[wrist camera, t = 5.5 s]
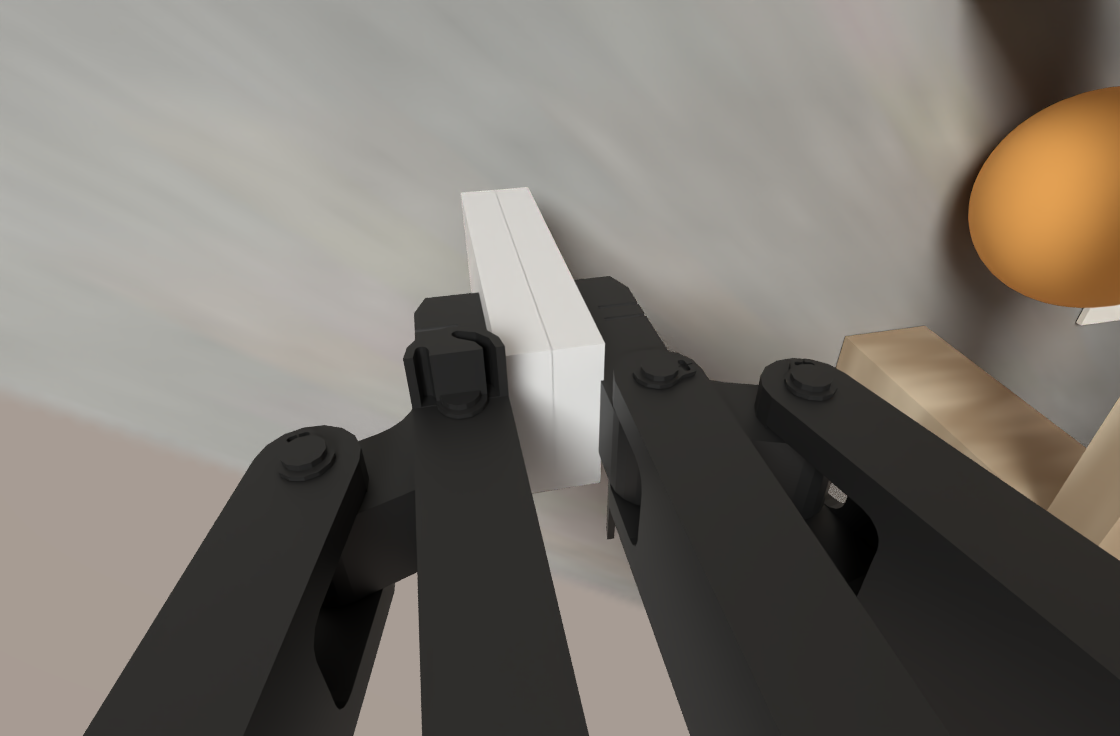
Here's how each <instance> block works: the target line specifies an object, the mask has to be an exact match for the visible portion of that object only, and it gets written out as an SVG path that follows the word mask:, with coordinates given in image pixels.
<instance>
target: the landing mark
mask: <svg viewBox="0 0 1120 736" xmlns="http://www.w3.org/2000/svg"><path fill="white" fill-rule="evenodd" d="M1116 320H1120V305H1116V306H1107V307H1096V308H1084V309H1083V311H1082V313H1081V314H1080V316H1079V318H1078V320H1077V322H1076V323H1078V324H1079V325H1087V324H1095V323H1102V322H1109V321H1116Z"/></svg>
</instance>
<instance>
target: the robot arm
mask: <svg viewBox="0 0 1120 736" xmlns="http://www.w3.org/2000/svg"><path fill="white" fill-rule="evenodd" d="M461 200H462V210H463V219H464V228H465V238H466V247H467V256H468V266H469V275H470V284H471V293H469V294H460V295H450V296H441V297H432V298H425V299H424V301H423V302H422V303H421V305H420V306H419V307H418V309H417V310H416V312H415V313H414V322H415V341H414V342H413V343H412V344H410V345H409V346H408V347H407V349H406V352H405V355H404V358H403V361H404V366H405V371H406V377H407V382H408V387H409V392H410V398H411V403H412V410H411V412H410V413H409V414H408V415H407V416H406V417H405V418H404V419H403V420H402V421H401V422H399V423H398V424H396V425H395V426H393V427H392V428H390V429H388V430H386V431H383V432H381V433H379V434H377V435H374V436H371V437H369V438H366V439H363V440H360V441H358V440H357V439H356V437H355V435H353V434H352V433H350V432H348V431H346V430H345V429H343V428H339V427H332V426H326V425H322V426H314V427H305V428H301V429H299V430H296V431H293V432H290V433H287V434H284V435H282V436H281V437H279V438H278V439H276V440H274V441H273V442H271V443H270V444H268V445H267V446H266V447H265V448H264V449H263V450H262V451H261V452H260V453H259V454H258V455H257V456H256V458H255V459H254V460H253V462H252V463H251V465H250V466H249V468H248V470H247V471H246V473H245V475H244V476H243V478H242V479H241V481H240V483H239V484H238V486H237V488H236V489H235V491H234V492H233V494H232V496H231V497H230V499H229V500H228V502H227V504H226V505H225V507H224V508H223V510H222V512H221V513H220V515H219V517H218V518H217V520H216V521H215V523H214V525H213V527H212V528H211V529H210V531H209V533H208V534H207V536H206V538H205V539H204V541H203V542H202V544H201V546H200V547H199V549H198V551H197V552H196V554H195V555H194V557H193V559H192V560H191V562H190V563H189V565H188V567H187V568H186V570H185V572H184V573H183V575H182V576H181V578H180V580H179V581H178V583H177V584H176V586H175V588H174V589H173V591H172V592H171V594H170V596H169V597H168V599H167V601H166V602H165V604H164V605H163V607H162V609H161V610H160V612H159V613H158V615H157V617H156V618H155V620H154V622H153V623H152V625H151V626H150V628H149V630H148V631H147V633H146V635H145V636H144V638H143V639H142V641H141V643H140V644H139V646H138V648H137V649H136V651H135V652H134V654H133V656H132V657H131V659H130V661H129V662H128V664H127V665H126V667H125V669H124V670H123V672H122V673H121V675H120V677H119V678H118V680H117V681H116V683H115V685H114V686H113V688H112V689H111V691H110V693H109V694H108V696H107V698H106V699H105V701H104V702H103V704H102V706H101V707H100V709H99V711H98V712H97V714H96V715H95V717H94V718H93V720H92V722H91V723H90V725H89V727H88V728H87V730H86V731H85V733H84V735H83V736H353V735H354V731H355V727H356V724H357V721H358V717H359V713H360V710H361V707H362V703H363V700H364V696H365V693H366V689H367V685H368V682H369V679H370V675H371V672H372V668H373V665H374V661H375V658H376V654H377V650H378V647H379V643H380V640H381V636H382V633H383V629H384V626H385V622H386V619H387V615H388V612H389V608H390V605H391V601H392V598H393V594H394V588H395V582H397V581H400V580H401V579H404V578H406V577H408V576H410V575H412V574H414V573H416V572H417V574H418V606H419V607H418V608H419V642H420V672H421V673H420V674H421V675H420V677H421V708H422V709H421V711H422V736H589V734H588V729H587V726H586V721H585V717H584V713H583V708H582V704H581V700H580V695H579V691H578V687H577V683H576V679H575V674H574V670H573V666H572V662H571V657H570V653H569V649H568V645H567V641H566V636H565V632H564V628H563V624H562V619H561V615H560V611H559V607H558V602H557V598H556V594H555V589H554V585H553V581H552V577H551V573H550V568H549V564H548V560H547V556H546V551H545V547H544V543H543V539H542V534H541V530H540V526H539V522H538V517H537V513H536V509H535V505H534V500H533V496H532V494H533V493H539V492H545V491H551V490H558V489H564V488H570V487H576V486H582V485H588V484H594V483H600V473H601V460H602V463H603V466H604V468H605V471H606V474H607V476H608V479H609V482H608V504H607V526H606V529H607V539H613V538H614V531H615V526H616V528H617V531H618V534H619V537H620V540H621V542H622V545H623V548H624V551H625V554H626V556H627V559H628V562H629V565H630V568H631V570H632V573H633V576H634V579H635V582H636V584H637V587H638V590H639V593H640V596H641V599H642V601H643V604H644V607H645V610H646V613H647V615H648V618H649V621H650V624H651V627H652V629H653V632H654V635H655V638H656V641H657V643H658V646H659V649H660V652H661V654H662V657H663V660H664V663H665V666H666V669H667V671H668V674H669V677H670V680H671V682H672V686H673V688H674V691H675V694H676V697H677V700H678V702H679V705H680V708H681V711H682V714H683V716H684V719H685V722H686V725H687V727H688V730H689V733H690V736H1120V560H1118V559H1117V558H1115V557H1114V556H1112V555H1111V554H1109V553H1108V552H1106V551H1105V550H1104V549H1102V548H1101V547H1099V546H1098V545H1096V544H1095V543H1093V542H1092V541H1090V540H1089V539H1087V538H1086V537H1084V536H1083V535H1082V534H1080V533H1079V532H1077V531H1076V530H1074V529H1073V528H1071V527H1070V526H1068V525H1067V524H1065V523H1064V522H1063V521H1061V520H1060V519H1058V518H1057V517H1055V516H1054V515H1052V514H1051V513H1049V512H1048V511H1046V510H1045V509H1043V508H1042V507H1041V506H1039V505H1038V504H1036V503H1035V502H1033V501H1032V500H1030V499H1029V498H1027V497H1026V496H1024V495H1023V494H1021V493H1020V492H1019V491H1017V490H1016V489H1014V488H1013V487H1011V486H1010V485H1008V484H1007V483H1005V482H1004V481H1002V480H1001V479H1000V478H998V477H997V476H995V475H994V474H992V473H991V472H989V471H988V470H986V469H985V468H983V467H982V466H980V465H979V464H978V463H976V462H975V461H973V460H972V459H970V458H969V457H967V456H966V455H964V454H963V453H961V452H960V451H959V450H957V449H956V448H954V447H953V446H951V445H950V444H948V443H947V442H945V441H944V440H942V439H941V438H939V437H938V436H937V435H935V434H934V433H932V432H931V431H929V430H928V429H926V428H925V427H923V426H922V425H920V424H919V423H918V422H916V421H915V420H913V419H912V418H910V417H909V416H907V415H906V414H904V413H903V412H901V411H900V410H898V409H897V408H896V407H894V406H893V405H891V404H890V403H888V402H887V401H885V400H884V399H882V398H881V397H879V396H878V395H876V394H875V393H874V392H872V391H871V390H869V389H868V388H866V387H865V386H863V385H862V384H860V383H859V382H857V381H856V380H855V379H853V378H852V377H850V376H849V375H847V374H846V373H844V372H842V371H840V370H838V369H837V368H835V367H833V366H831V365H829V364H825V363H822V362H818V361H815V360H811V359H797V358H791V359H785V360H779V361H776V362H774V363H772V364H770V365H768V366H766V367H765V369H764V371H763V373H762V374H761V377H760V382H759V385H750V384H736V383H724V382H718V381H711V380H709V379H708V377H707V376H706V374H705V373H704V371H703V370H702V369H701V368H700V367H699V366H698V365H697V364H696V363H695V362H694V361H693V360H692V359H689V358H687V357H685V356H683V355H681V354H679V353H675V352H670V351H668V350H667V348H666V347H665V345H664V344H663V342H662V341H661V339H660V337H659V336H658V334H657V333H656V331H655V329H654V328H653V326H652V325H651V323H650V322H649V320H648V318H647V317H646V316H644V312H643V310H642V309H641V307H640V306H639V304H637V301H636V299H635V298H634V296H633V295H632V293H631V292H630V290H629V288H628V287H626V286H625V285H623V284H622V283H620V282H618V281H617V280H615V279H613V278H612V277H610V276H607V277H598V278H589V279H580V280H573V277H572V275H571V273H570V271H569V269H568V267H567V265H566V263H565V261H564V259H563V257H562V255H561V253H560V251H559V249H558V247H557V245H556V243H555V241H554V239H553V237H552V235H551V233H550V231H549V229H548V227H547V225H546V223H545V221H544V219H543V217H542V215H541V212H540V210H539V208H538V206H537V204H536V202H535V200H534V198H533V196H532V194H531V192H530V190H529V188H528V187H523V188H511V189H499V190H487V191H475V192H463V193H461ZM831 482H832V483H833V484H834V485H835V486H837V487H838V488H839V489H840V490H841V491H842V492H844V493H845V494H846V495H847V499H846V502H845V503H840V502H839V501H837V500H836V499H834V498H833V497H832V496H831V495H829V494H828V490H829V487H830V484H831Z"/></svg>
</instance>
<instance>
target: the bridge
mask: <svg viewBox="0 0 1120 736" xmlns="http://www.w3.org/2000/svg"><path fill="white" fill-rule="evenodd" d="M836 368H837V369H838V370H840V371H842V372H844V373H846V374H847V375H849V376H850V377H852V378H853V379H855V380H856V381H857V382H859V383H860V384H862V385H863V386H865V387H866V388H868V389H869V390H871V391H872V392H874V393H875V394H876V395H878V396H879V397H881V398H882V399H884V400H885V401H887V402H888V403H890V404H891V405H893V406H894V407H896V408H897V409H898V410H900V411H901V412H903V413H904V414H906V415H907V416H909V417H910V418H912V419H913V420H915V421H916V422H918V423H919V424H920V425H922V426H923V427H925V428H926V429H928V430H929V431H931V432H932V433H934V434H935V435H937V436H938V437H939V438H941V439H942V440H944V441H945V442H947V443H948V444H950V445H951V446H953V447H954V448H956V449H957V450H959V451H960V452H961V453H963V454H964V455H966V456H967V457H969V458H970V459H972V460H973V461H975V462H976V463H978V464H979V465H980V466H982V467H983V468H985V469H986V470H988V471H989V472H991V473H992V474H994V475H995V476H997V477H998V478H1000V479H1001V480H1002V481H1004V482H1005V483H1007V484H1008V485H1010V486H1011V487H1013V488H1014V489H1016V490H1017V491H1019V492H1020V493H1021V494H1023V495H1024V496H1026V497H1027V498H1029V499H1030V500H1032V501H1033V502H1035V503H1036V504H1038V505H1039V506H1041V507H1042V508H1043V509H1045V510H1046V511H1048V512H1049V513H1051V514H1052V515H1054V516H1055V517H1057V518H1058V519H1060V520H1061V521H1063V522H1064V523H1065V524H1067V525H1068V526H1070V527H1071V528H1073V529H1074V530H1076V531H1077V532H1079V533H1080V534H1082V535H1083V536H1084V537H1086V538H1087V539H1089V540H1090V541H1092V542H1093V543H1095V544H1096V545H1098V546H1099V547H1101V548H1102V549H1104V550H1105V551H1106V552H1108V553H1109V554H1111V555H1112V556H1114V557H1115V558H1117V559H1118V560H1120V397H1119V399H1118V400H1117V402H1116V403H1115V405H1114V406H1113V408H1112V410H1111V411H1110V413H1109V414H1108V416H1107V417H1106V419H1105V421H1104V422H1103V424H1102V425H1101V427H1100V428H1099V430H1098V431H1097V433H1096V435H1095V436H1094V438H1093V439H1092V441H1091V442H1090V444H1089V446H1088V447H1087V448H1085V447H1084V446H1083V445H1081V444H1080V443H1079V442H1078V441H1076V440H1075V439H1074V438H1072V437H1071V436H1070V435H1068V434H1067V433H1066V432H1064V431H1063V430H1062V429H1060V428H1059V427H1058V426H1056V425H1055V424H1054V423H1052V422H1051V421H1050V420H1048V419H1047V418H1046V417H1045V416H1043V415H1042V414H1041V413H1039V412H1038V411H1037V410H1035V409H1034V408H1033V407H1031V406H1030V405H1029V404H1027V403H1026V402H1025V401H1023V400H1022V399H1021V398H1019V397H1018V396H1017V395H1015V394H1014V393H1013V392H1012V391H1010V390H1009V389H1008V388H1006V387H1005V386H1004V385H1002V384H1001V383H1000V382H998V381H997V380H996V379H994V378H993V377H992V376H990V375H989V374H988V373H986V372H985V371H984V370H982V369H981V368H980V367H979V366H977V365H976V364H975V363H973V362H972V361H971V360H969V359H968V358H967V357H965V356H964V355H963V354H961V353H960V352H959V351H957V350H956V349H955V348H953V347H952V346H951V345H949V344H948V343H947V342H946V341H944V340H943V339H942V338H940V337H939V336H938V335H936V334H935V333H934V332H932V331H931V330H930V329H928V328H927V327H926V326H921V327H913V328H906V329H898V330H891V331H883V332H875V333H868V334H860V335H853V336H845V339H844V343H843V346H842V350H841V353H840V356H839V360H838V363H837V366H836Z"/></svg>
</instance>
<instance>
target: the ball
mask: <svg viewBox="0 0 1120 736" xmlns="http://www.w3.org/2000/svg"><path fill="white" fill-rule="evenodd" d="M968 221H969V229H970V234H971V238H972V241H973V244H974V247H975V249H976V251H977V253H978V255H979V257H980V258H981V260H982V261H983V263H984V264H985V265H986V266H987V268H988V269H989V270H990V271H991V273H992V274H993V275H995V276H996V277H997V278H998V279H999V280H1001V281H1002V282H1003V283H1004V284H1006V285H1007V286H1008V287H1010V288H1012V289H1013V290H1015V291H1017V292H1019V293H1021V294H1023V295H1025V296H1027V297H1030V298H1032V299H1035V300H1038V301H1041V302H1044V303H1048V304H1053V305H1058V306H1065V307H1077V308H1096V307H1107V306H1116V305H1120V86H1118V87H1109V88H1103V89H1097V90H1093V91H1089V92H1085V93H1081V94H1079V95H1076V96H1073V97H1070V98H1067V99H1064V100H1061V101H1059V102H1057V103H1055V104H1053V105H1051V106H1049V107H1047V108H1045V109H1043V110H1041V111H1040V112H1038V113H1036V114H1035V115H1033V116H1031V117H1030V118H1028V119H1027V120H1025V121H1024V122H1023V123H1021V124H1020V125H1018V126H1017V127H1016V128H1015V129H1014V130H1013V131H1011V132H1010V133H1009V134H1008V135H1007V136H1006V137H1005V138H1004V139H1003V140H1002V141H1001V142H1000V143H999V144H998V146H997V147H996V148H995V149H994V151H993V152H992V153H991V154H990V156H989V157H988V159H987V160H986V162H985V163H984V165H983V167H982V168H981V170H980V172H979V174H978V176H977V178H976V181H975V183H974V186H973V189H972V192H971V197H970V202H969V214H968Z"/></svg>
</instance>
